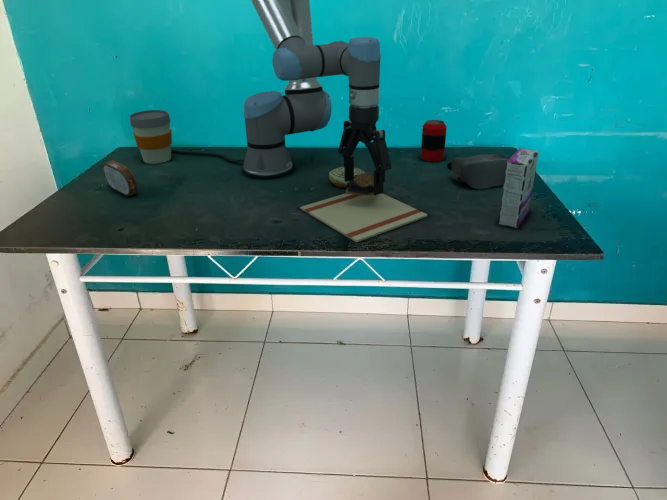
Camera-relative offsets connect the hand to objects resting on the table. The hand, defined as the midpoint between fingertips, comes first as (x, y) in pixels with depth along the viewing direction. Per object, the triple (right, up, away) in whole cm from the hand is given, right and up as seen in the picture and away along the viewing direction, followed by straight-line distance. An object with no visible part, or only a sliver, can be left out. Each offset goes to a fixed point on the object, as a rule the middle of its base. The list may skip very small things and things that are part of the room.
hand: (363, 187), depth 140 cm
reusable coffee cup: (-67, +14, +36) cm, 78 cm away
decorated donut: (-4, +3, +14) cm, 15 cm away
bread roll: (0, 0, 0) cm, 0 cm away
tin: (-69, 0, +11) cm, 70 cm away
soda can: (+25, +13, +32) cm, 42 cm away
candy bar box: (+37, -9, -9) cm, 39 cm away
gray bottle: (+35, +3, +14) cm, 37 cm away
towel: (0, -7, -4) cm, 8 cm away
